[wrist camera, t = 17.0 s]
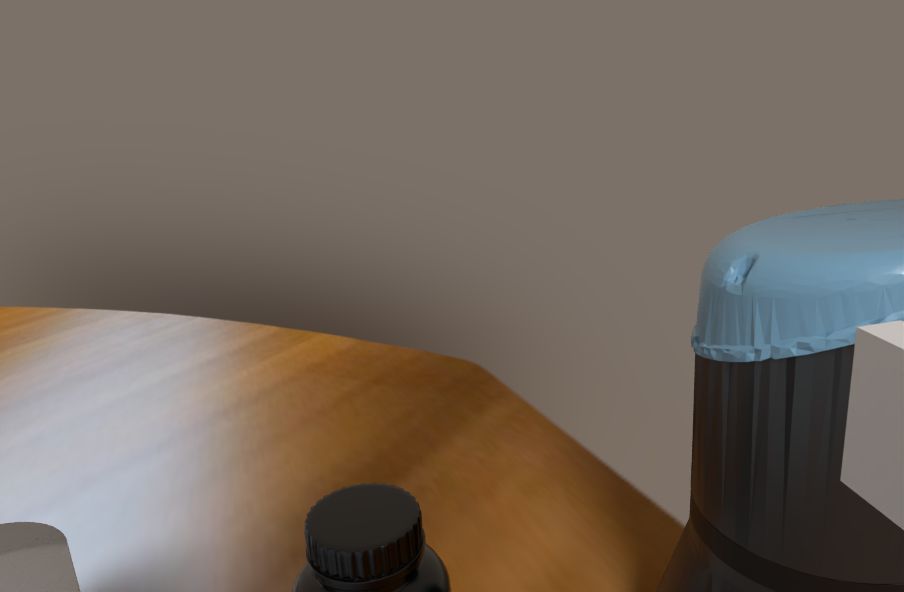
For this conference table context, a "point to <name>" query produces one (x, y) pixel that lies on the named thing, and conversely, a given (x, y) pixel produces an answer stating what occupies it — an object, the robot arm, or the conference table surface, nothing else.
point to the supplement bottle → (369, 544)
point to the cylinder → (35, 559)
